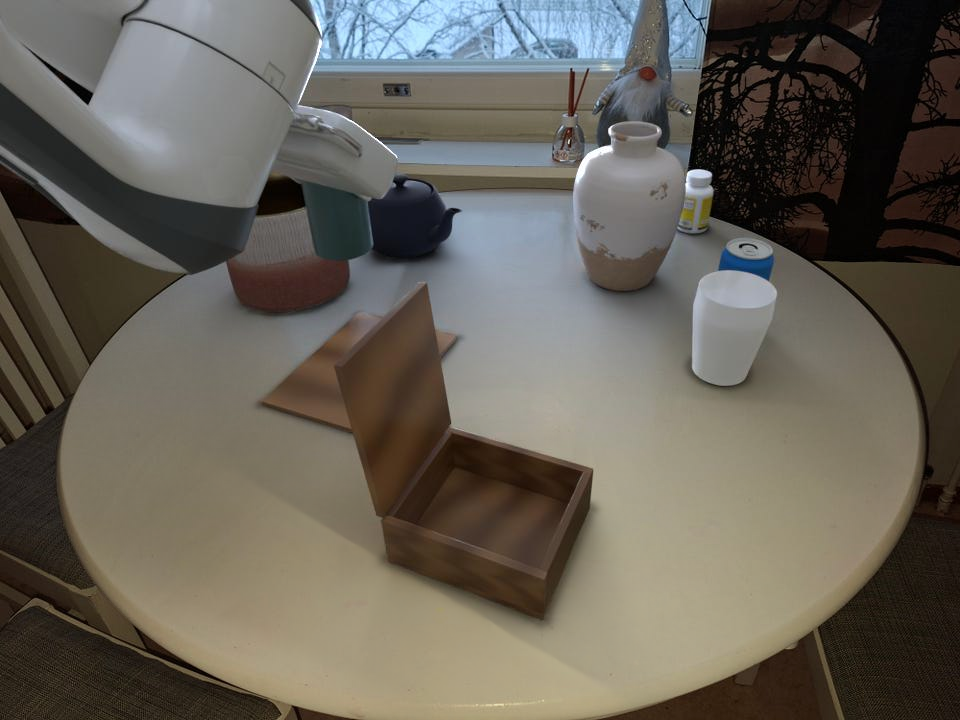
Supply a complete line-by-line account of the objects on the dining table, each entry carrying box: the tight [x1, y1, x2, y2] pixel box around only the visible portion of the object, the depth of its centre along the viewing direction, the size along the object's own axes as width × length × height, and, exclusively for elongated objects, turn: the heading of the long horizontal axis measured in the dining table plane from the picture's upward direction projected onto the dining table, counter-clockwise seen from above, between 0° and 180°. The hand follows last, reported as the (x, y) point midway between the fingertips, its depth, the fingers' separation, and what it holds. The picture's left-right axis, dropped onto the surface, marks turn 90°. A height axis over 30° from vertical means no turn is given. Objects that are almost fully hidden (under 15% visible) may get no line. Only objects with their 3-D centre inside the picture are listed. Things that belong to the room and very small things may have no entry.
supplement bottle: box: [677, 169, 714, 234], centre depth 116 cm, size 5×5×10 cm
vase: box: [572, 120, 687, 292], centre depth 99 cm, size 16×16×23 cm
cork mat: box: [260, 311, 458, 434], centre depth 88 cm, size 22×16×1 cm
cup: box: [691, 270, 778, 387], centre depth 82 cm, size 9×9×12 cm
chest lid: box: [334, 281, 452, 519], centre depth 61 cm, size 16×14×1 cm
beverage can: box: [717, 237, 775, 282], centre depth 90 cm, size 6×6×12 cm
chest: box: [380, 426, 594, 621], centre depth 65 cm, size 16×14×6 cm
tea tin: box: [301, 180, 373, 261], centre depth 62 cm, size 6×6×11 cm
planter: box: [225, 172, 351, 314], centre depth 102 cm, size 18×18×16 cm
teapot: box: [367, 173, 463, 259], centre depth 113 cm, size 25×16×12 cm, turn 49°
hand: (338, 184), depth 62 cm, fingers closed on tea tin, 5 cm apart
